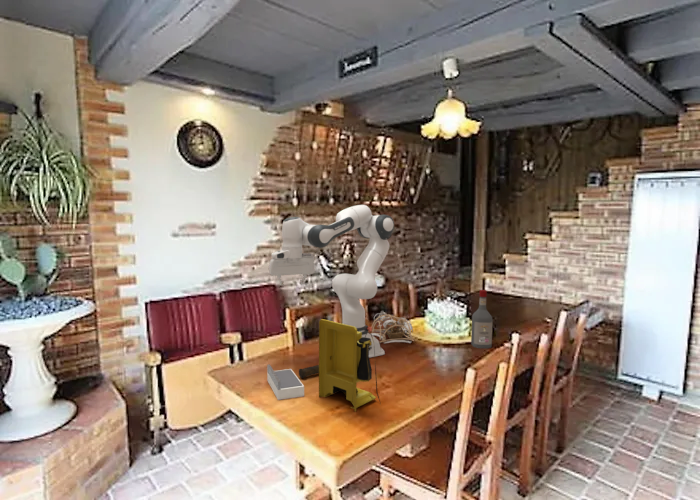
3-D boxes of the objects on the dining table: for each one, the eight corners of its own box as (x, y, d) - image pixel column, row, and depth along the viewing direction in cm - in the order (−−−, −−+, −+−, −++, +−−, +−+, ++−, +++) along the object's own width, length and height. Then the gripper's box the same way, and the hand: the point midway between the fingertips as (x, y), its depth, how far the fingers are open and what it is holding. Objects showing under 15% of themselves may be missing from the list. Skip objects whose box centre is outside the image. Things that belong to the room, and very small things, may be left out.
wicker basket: (359, 346, 236) (359, 318, 233) (383, 325, 267) (384, 299, 264) (408, 356, 224) (409, 326, 221) (428, 332, 255) (429, 306, 252)
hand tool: (302, 380, 182) (303, 369, 181) (297, 376, 185) (298, 365, 184) (340, 371, 193) (341, 361, 192) (335, 367, 196) (336, 358, 195)
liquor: (492, 350, 225) (494, 292, 222) (474, 350, 225) (476, 292, 222) (487, 345, 234) (489, 289, 231) (470, 344, 234) (471, 288, 232)
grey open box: (291, 377, 185) (291, 361, 184) (304, 396, 166) (304, 378, 166) (267, 380, 181) (267, 364, 181) (278, 400, 163) (277, 382, 162)
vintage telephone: (396, 406, 159) (398, 324, 156) (372, 419, 148) (373, 332, 146) (334, 383, 180) (334, 310, 177) (309, 393, 169) (309, 316, 167)
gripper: (312, 252, 202) (312, 282, 203) (268, 253, 194) (268, 284, 195) (316, 253, 196) (316, 284, 197) (270, 254, 189) (271, 286, 190)
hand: (292, 284), depth 196 cm, fingers open, 8 cm apart
